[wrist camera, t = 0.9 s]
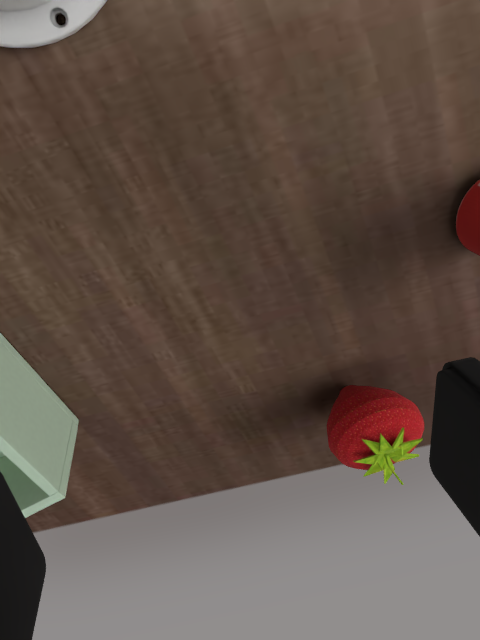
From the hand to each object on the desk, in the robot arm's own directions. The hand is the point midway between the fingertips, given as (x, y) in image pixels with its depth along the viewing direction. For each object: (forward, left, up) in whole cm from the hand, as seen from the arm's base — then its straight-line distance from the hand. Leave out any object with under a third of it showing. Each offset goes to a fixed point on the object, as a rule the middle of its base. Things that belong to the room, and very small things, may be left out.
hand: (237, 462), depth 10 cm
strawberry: (+21, +6, -23) cm, 32 cm away
